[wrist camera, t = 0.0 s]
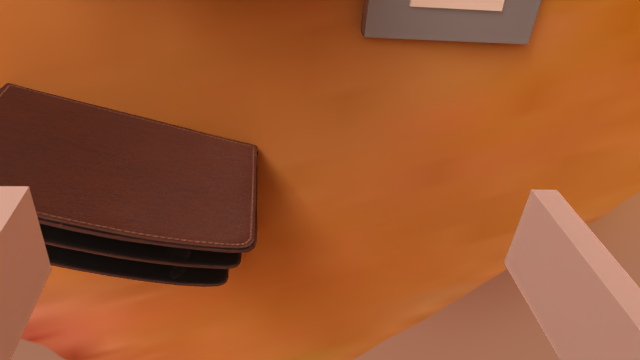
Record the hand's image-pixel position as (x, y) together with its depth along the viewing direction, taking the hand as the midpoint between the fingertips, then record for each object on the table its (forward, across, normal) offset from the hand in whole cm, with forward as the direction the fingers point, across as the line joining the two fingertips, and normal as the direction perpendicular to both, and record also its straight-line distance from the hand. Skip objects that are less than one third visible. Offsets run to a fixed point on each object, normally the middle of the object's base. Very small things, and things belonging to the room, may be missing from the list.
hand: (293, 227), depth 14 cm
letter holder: (+28, -11, -16) cm, 34 cm away
